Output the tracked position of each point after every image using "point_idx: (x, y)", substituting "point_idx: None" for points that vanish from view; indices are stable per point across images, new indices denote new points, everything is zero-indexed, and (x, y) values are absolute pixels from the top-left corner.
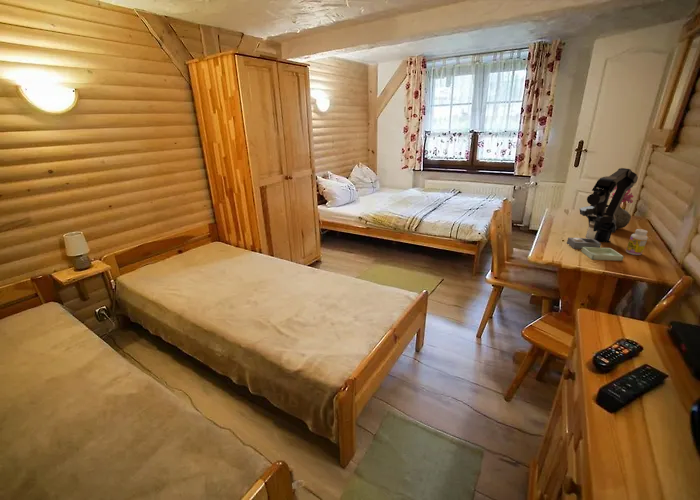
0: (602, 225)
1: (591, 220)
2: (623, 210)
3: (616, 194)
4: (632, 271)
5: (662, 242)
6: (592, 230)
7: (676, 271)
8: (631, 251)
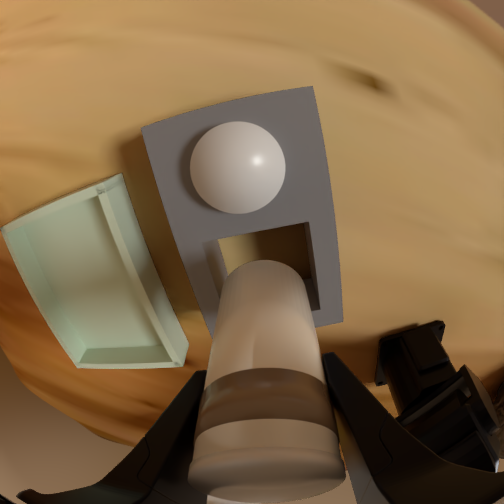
0: (424, 434)
1: (364, 475)
2: None
3: None
4: (10, 331)
5: None
6: (209, 366)
7: (105, 433)
8: None
